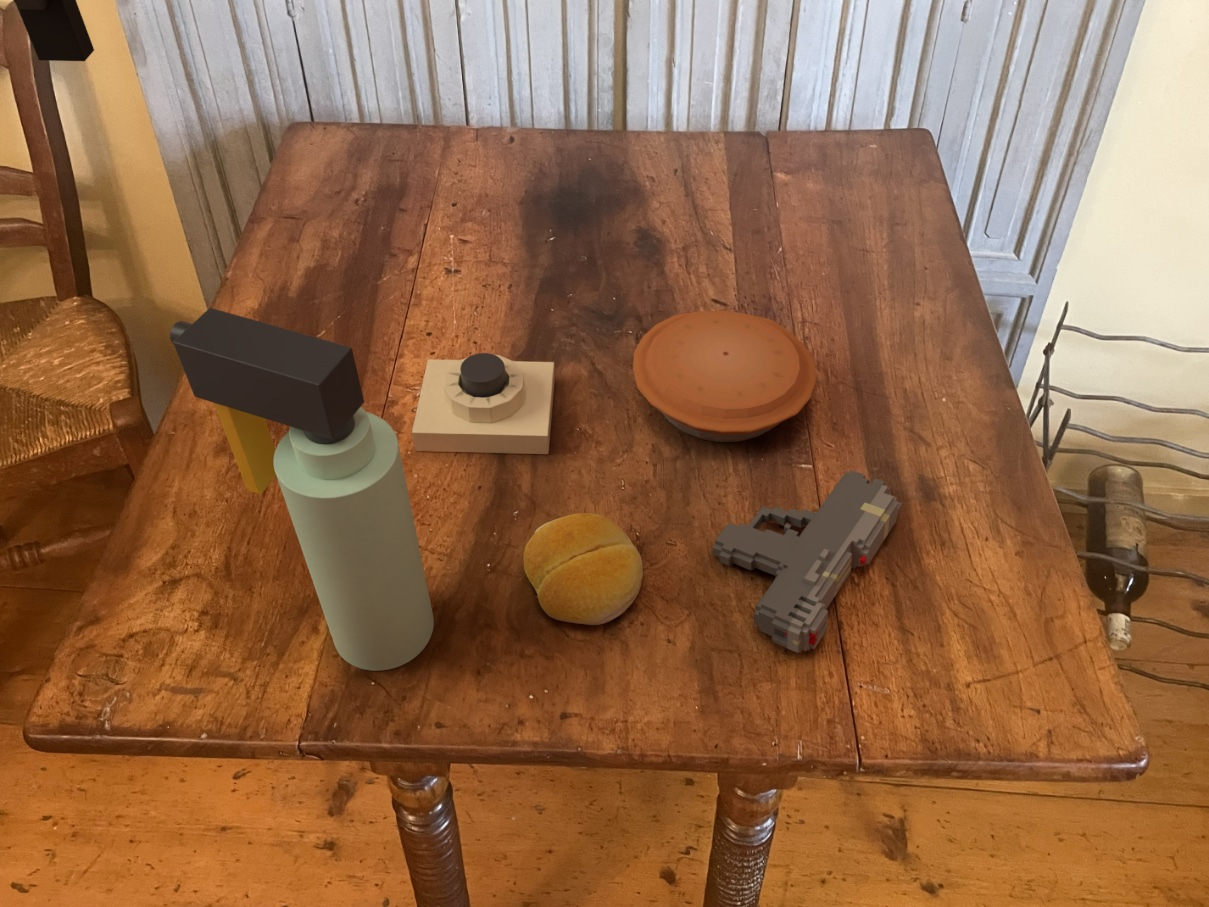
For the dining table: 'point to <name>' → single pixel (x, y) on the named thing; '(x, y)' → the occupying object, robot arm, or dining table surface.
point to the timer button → (483, 375)
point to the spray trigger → (249, 446)
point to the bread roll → (583, 568)
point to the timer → (485, 411)
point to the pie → (723, 374)
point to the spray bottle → (325, 477)
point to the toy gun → (810, 555)
